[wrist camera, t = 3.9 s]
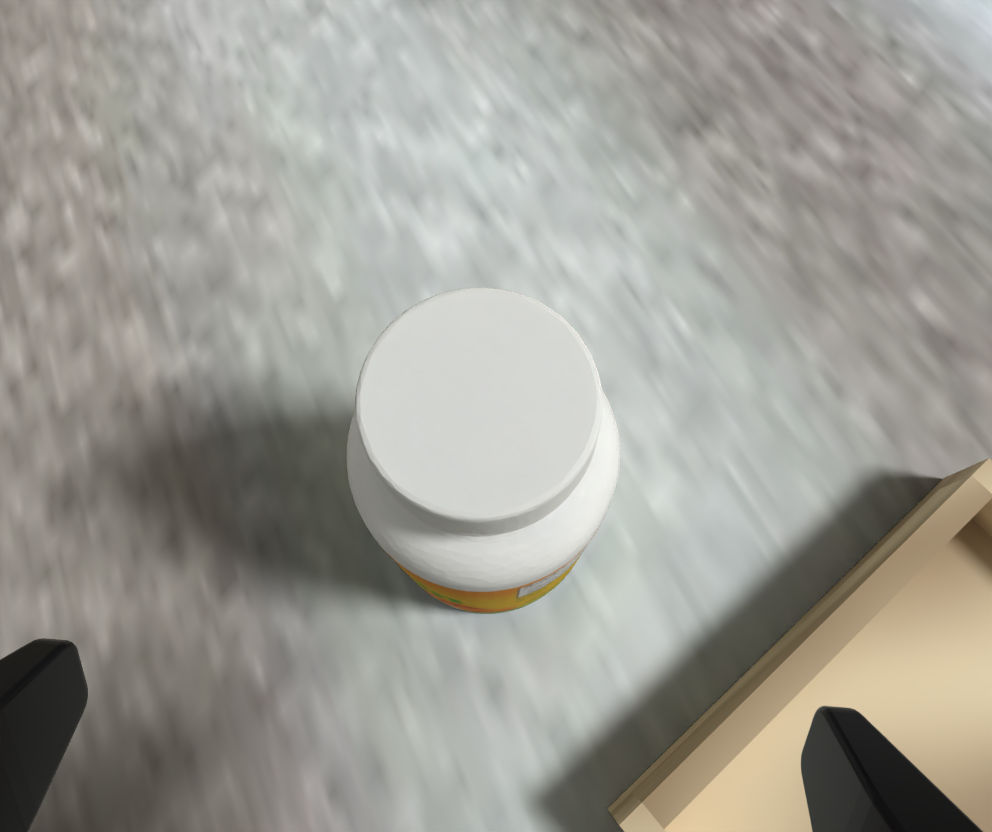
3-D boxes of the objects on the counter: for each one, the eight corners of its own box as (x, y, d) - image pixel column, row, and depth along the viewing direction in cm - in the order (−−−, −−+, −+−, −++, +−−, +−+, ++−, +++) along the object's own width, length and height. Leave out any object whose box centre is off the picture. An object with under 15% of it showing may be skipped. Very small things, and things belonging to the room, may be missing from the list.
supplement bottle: (354, 508, 21) (239, 383, 12) (497, 390, 22) (492, 192, 13) (480, 659, 20) (459, 647, 11) (625, 524, 21) (719, 409, 12)
